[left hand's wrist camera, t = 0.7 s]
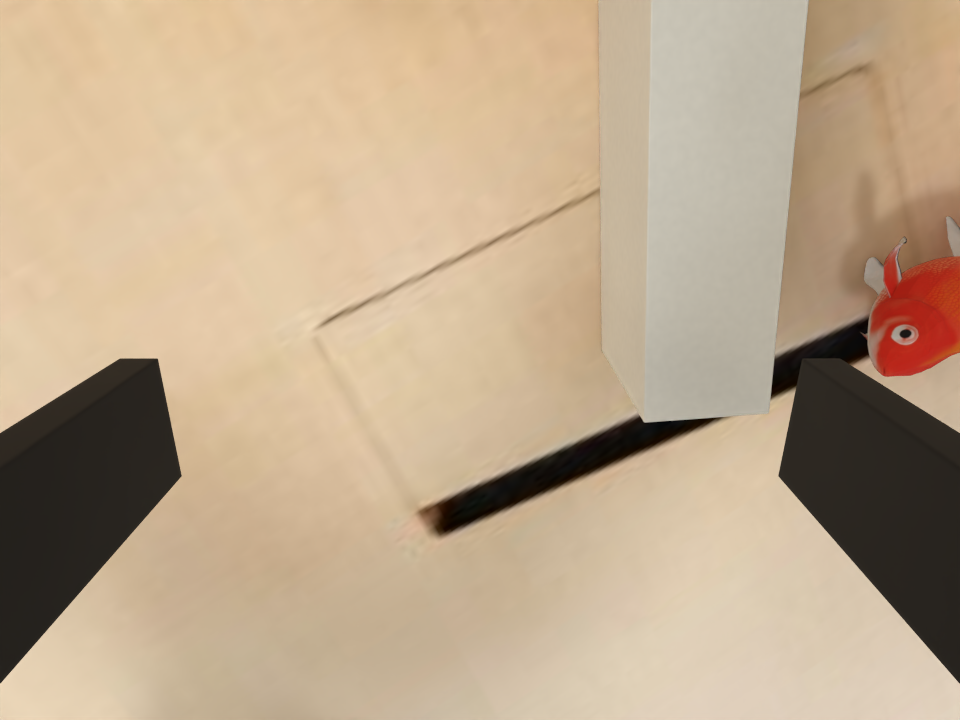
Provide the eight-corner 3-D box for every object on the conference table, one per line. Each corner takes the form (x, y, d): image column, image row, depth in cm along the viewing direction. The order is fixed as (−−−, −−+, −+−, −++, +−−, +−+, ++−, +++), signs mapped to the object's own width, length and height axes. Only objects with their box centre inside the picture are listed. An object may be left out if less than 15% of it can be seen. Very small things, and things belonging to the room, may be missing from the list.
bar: (694, 344, 34) (769, 414, 26) (601, 351, 35) (643, 423, 26) (721, -226, 26) (850, -419, 17) (595, -214, 26) (658, -399, 17)
